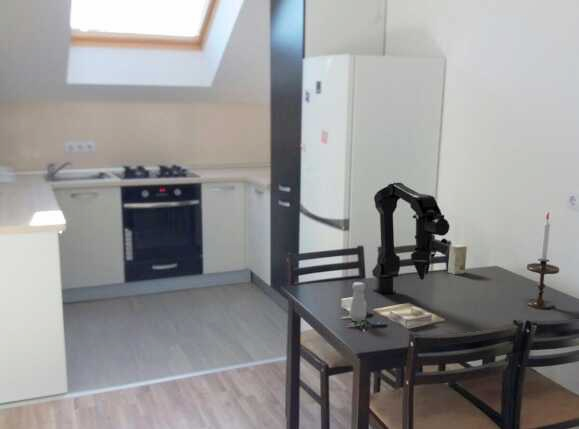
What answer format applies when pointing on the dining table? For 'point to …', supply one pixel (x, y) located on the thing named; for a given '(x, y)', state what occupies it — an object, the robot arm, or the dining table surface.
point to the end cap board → (408, 315)
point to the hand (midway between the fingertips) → (424, 276)
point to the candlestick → (542, 271)
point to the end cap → (347, 303)
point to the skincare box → (457, 259)
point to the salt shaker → (358, 302)
